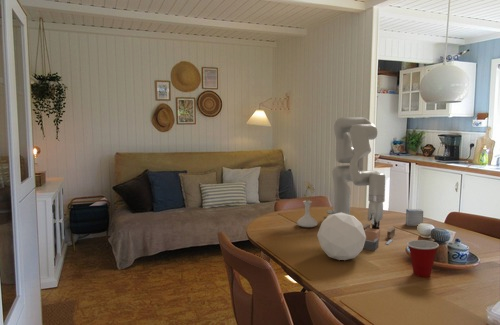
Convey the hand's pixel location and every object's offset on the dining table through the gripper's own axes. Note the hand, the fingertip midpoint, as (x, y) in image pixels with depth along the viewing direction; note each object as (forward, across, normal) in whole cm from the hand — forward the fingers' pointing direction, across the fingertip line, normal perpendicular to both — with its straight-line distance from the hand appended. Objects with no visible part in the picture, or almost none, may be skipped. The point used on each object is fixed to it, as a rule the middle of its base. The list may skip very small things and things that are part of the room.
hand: (375, 234), depth 184 cm
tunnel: (+1, -5, 0) cm, 5 cm away
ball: (+2, +37, -3) cm, 37 cm away
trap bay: (+1, +18, 0) cm, 18 cm away
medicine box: (+2, -34, +11) cm, 36 cm away
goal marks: (+1, +5, 0) cm, 5 cm away
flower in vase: (+2, +1, -37) cm, 37 cm away
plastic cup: (+2, +36, +28) cm, 46 cm away
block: (+2, +5, 0) cm, 6 cm away
